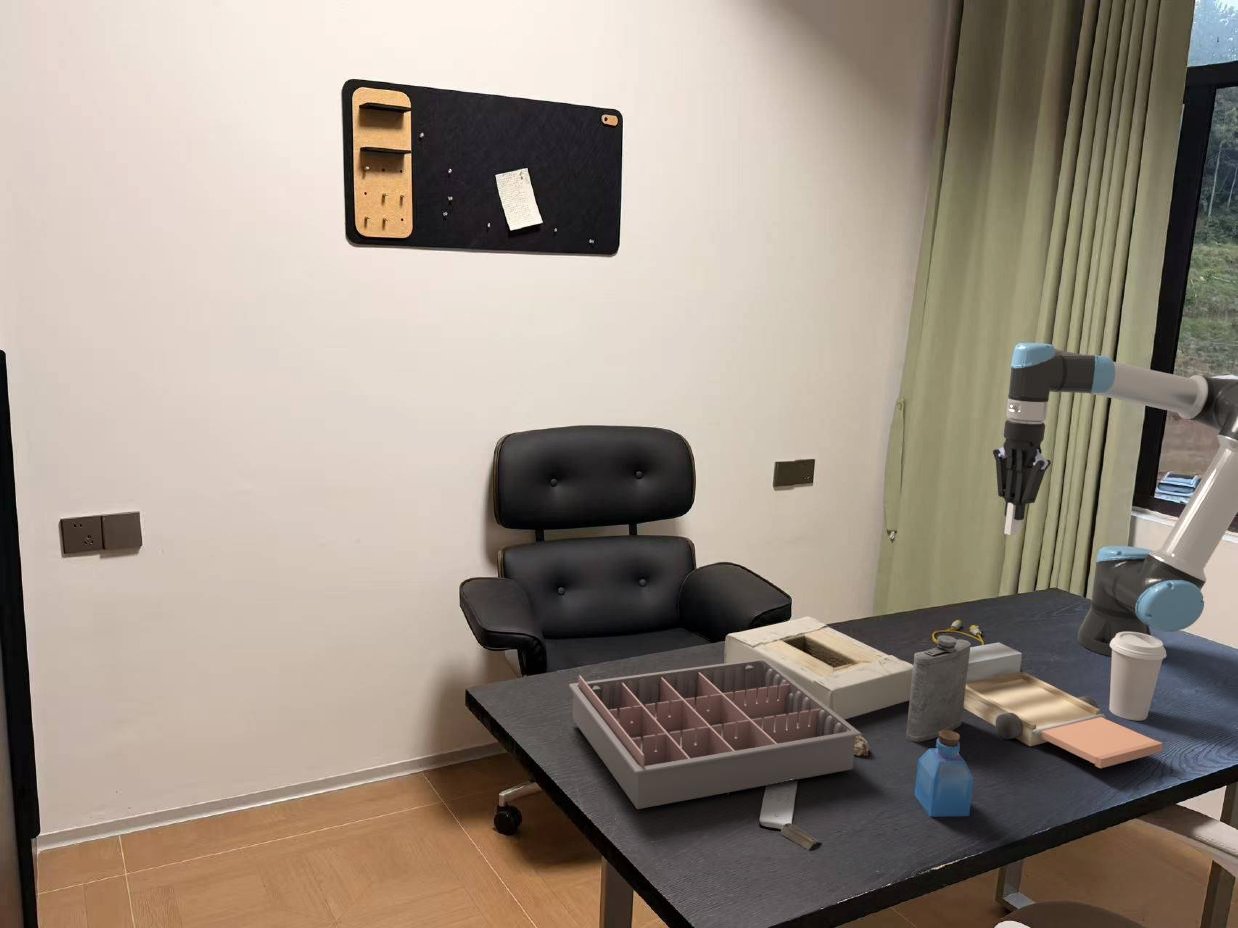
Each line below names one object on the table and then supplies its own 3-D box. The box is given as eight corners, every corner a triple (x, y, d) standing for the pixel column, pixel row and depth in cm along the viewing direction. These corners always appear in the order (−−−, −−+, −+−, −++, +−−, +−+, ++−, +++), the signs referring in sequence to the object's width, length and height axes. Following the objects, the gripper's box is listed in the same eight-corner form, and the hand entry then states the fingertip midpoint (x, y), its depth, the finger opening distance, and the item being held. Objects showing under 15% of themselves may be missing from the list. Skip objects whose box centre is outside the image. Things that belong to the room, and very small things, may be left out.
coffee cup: (1163, 727, 181) (1175, 651, 178) (1108, 720, 183) (1119, 646, 180) (1146, 704, 190) (1158, 632, 187) (1094, 699, 192) (1105, 627, 189)
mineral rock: (803, 725, 173) (836, 705, 176) (806, 745, 174) (838, 724, 178) (848, 754, 164) (881, 731, 168) (850, 774, 166) (883, 752, 169)
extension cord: (1004, 642, 221) (1005, 634, 221) (963, 657, 212) (964, 648, 212) (958, 625, 231) (959, 617, 231) (916, 638, 222) (917, 630, 221)
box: (918, 701, 190) (804, 643, 216) (921, 664, 188) (806, 611, 215) (831, 730, 178) (722, 665, 204) (834, 691, 176) (723, 631, 202)
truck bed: (926, 692, 193) (930, 654, 191) (1005, 676, 201) (1010, 640, 200) (1020, 748, 171) (1026, 706, 170) (1105, 727, 180) (1111, 687, 179)
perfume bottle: (914, 794, 155) (921, 725, 153) (952, 794, 156) (960, 725, 153) (930, 816, 149) (937, 744, 147) (968, 816, 150) (977, 744, 147)
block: (808, 859, 140) (808, 849, 139) (775, 837, 144) (776, 827, 143) (823, 846, 142) (824, 836, 141) (791, 826, 146) (792, 816, 146)
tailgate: (1032, 728, 171) (1096, 759, 160) (1101, 712, 179) (1167, 741, 167) (1031, 738, 172) (1095, 769, 160) (1100, 721, 179) (1166, 750, 167)
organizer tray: (858, 778, 160) (864, 722, 158) (633, 821, 146) (636, 760, 144) (762, 695, 189) (765, 647, 187) (567, 724, 175) (568, 673, 173)
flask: (968, 724, 180) (979, 633, 176) (919, 745, 171) (929, 649, 168) (951, 717, 183) (961, 626, 179) (902, 736, 174) (912, 642, 170)
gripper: (986, 416, 199) (974, 527, 204) (1037, 426, 188) (1023, 544, 193) (1013, 414, 203) (1001, 524, 207) (1065, 425, 191) (1050, 540, 196)
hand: (1012, 533), depth 200 cm, fingers closed
